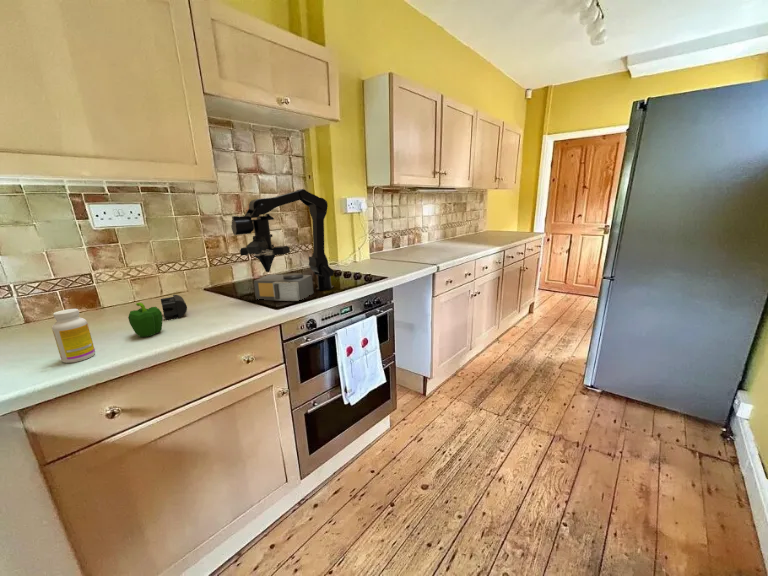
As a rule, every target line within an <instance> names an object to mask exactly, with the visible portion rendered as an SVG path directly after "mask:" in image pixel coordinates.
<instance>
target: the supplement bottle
mask: <svg viewBox="0 0 768 576" xmlns="http://www.w3.org/2000/svg"><path fill="white" fill-rule="evenodd" d="M53 318H54V320H55V321H56V322H54V323H53V324H52V326H51V330H52V333H53V337H54V341H55V343H56V347H57V350H58V354H59V358H60V359H61V361H62V362H63V363H67V364H69V363H71V364H72V363H79V362H81V361H85V360H88V359H89V358H91V357H93V356H94V355H95V354H96V348H95V346H94V343H93V338H92V335H91V332H90V331H91V330H90V328H89V325H88V321H87V319H85V318H83V317H80V310H79V309H78V308H69V309H62V310H59V311H55V312H53Z"/></svg>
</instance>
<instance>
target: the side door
mask: <svg viewBox="0 0 768 576" xmlns="http://www.w3.org/2000/svg"><path fill="white" fill-rule="evenodd" d="M273 291H274V299H275V300H274V301H281V302H282V301H284V302H285V301H287V302H290V301H291V302H300V301H299V300H300V294H299V284H298V282H273Z"/></svg>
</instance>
